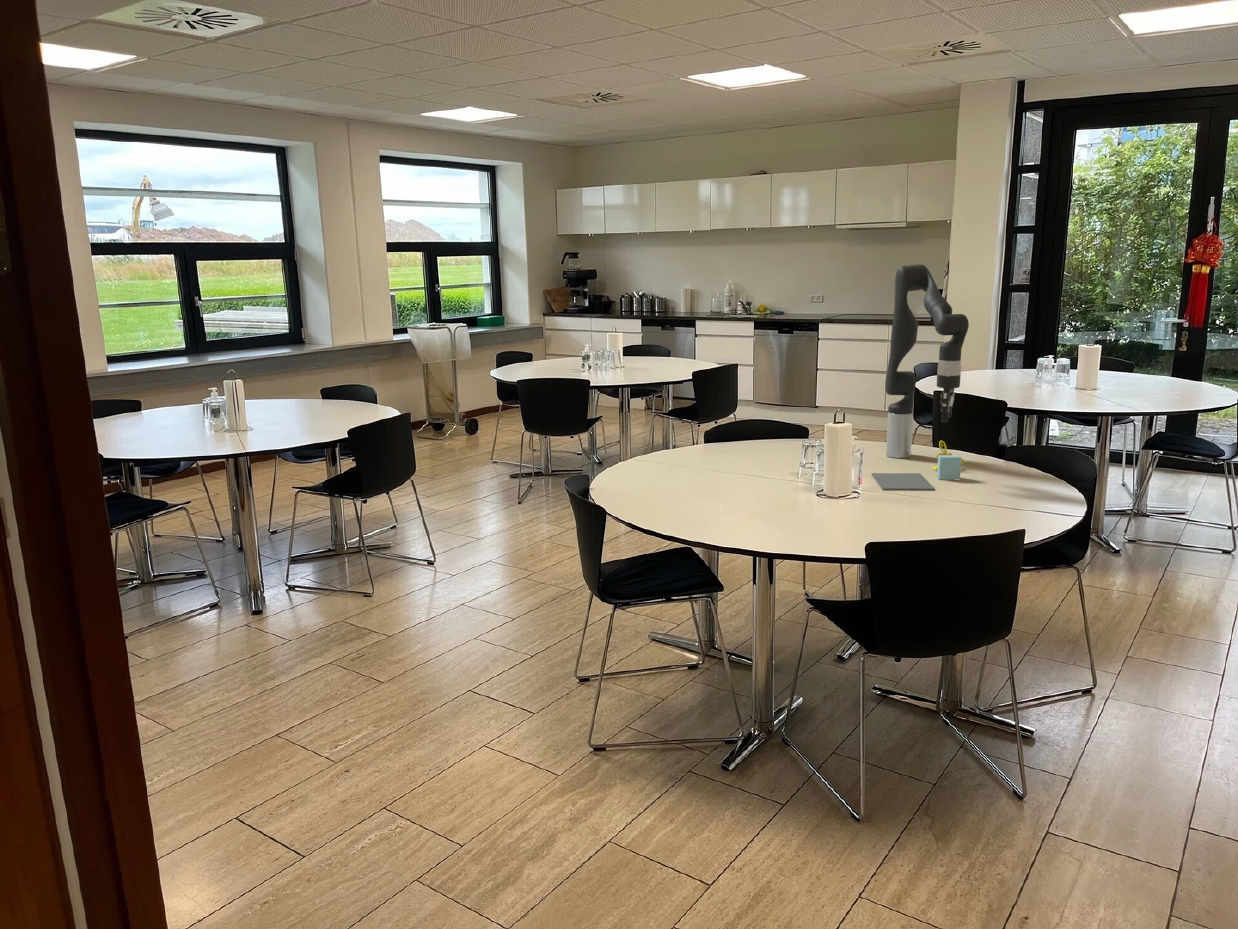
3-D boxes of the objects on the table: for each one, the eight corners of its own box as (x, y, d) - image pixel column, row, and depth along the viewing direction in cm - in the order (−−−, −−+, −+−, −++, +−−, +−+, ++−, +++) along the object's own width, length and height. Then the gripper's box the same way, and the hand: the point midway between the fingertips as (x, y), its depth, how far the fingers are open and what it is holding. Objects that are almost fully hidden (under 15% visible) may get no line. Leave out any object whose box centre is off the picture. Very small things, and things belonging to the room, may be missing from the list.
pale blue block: (936, 477, 321) (937, 455, 319) (957, 477, 320) (958, 455, 319) (939, 479, 318) (940, 457, 316) (959, 479, 317) (961, 457, 315)
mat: (871, 474, 326) (871, 473, 326) (920, 474, 325) (920, 473, 324) (882, 490, 305) (882, 488, 305) (934, 490, 303) (934, 488, 303)
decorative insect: (945, 481, 336) (964, 460, 335) (949, 483, 332) (968, 462, 332) (922, 460, 333) (940, 439, 332) (926, 461, 329) (944, 440, 328)
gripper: (940, 370, 317) (937, 416, 320) (934, 375, 304) (931, 423, 308) (963, 371, 313) (960, 417, 317) (958, 376, 301) (955, 424, 305)
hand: (946, 420), depth 312 cm, fingers open, 8 cm apart
